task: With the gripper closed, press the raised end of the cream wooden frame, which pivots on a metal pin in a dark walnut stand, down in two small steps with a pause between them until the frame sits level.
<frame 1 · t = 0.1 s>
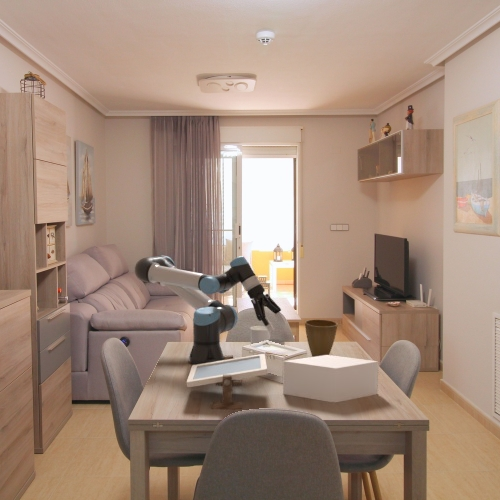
hand: (278, 328, 231), 15 cm above the table, tool tilted 35°, fingers open, 13 cm apart
tilted frame: (228, 369, 190), point 9 cm above the table, hinge at -10.0°
candle holder: (259, 353, 248), on the table
plant pot: (320, 357, 243), on the table
block: (330, 394, 193), on the table
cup: (275, 363, 232), on the table
walnut stand: (228, 394, 191), on the table
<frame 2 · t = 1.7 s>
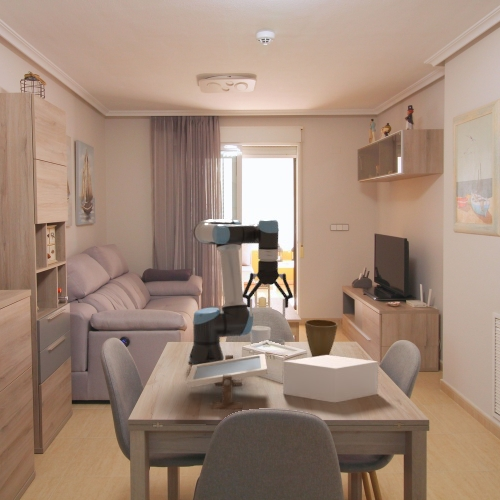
hand: (267, 316, 202), 26 cm above the table, tool pointing down, fingers open, 12 cm apart
nothing on the table moved.
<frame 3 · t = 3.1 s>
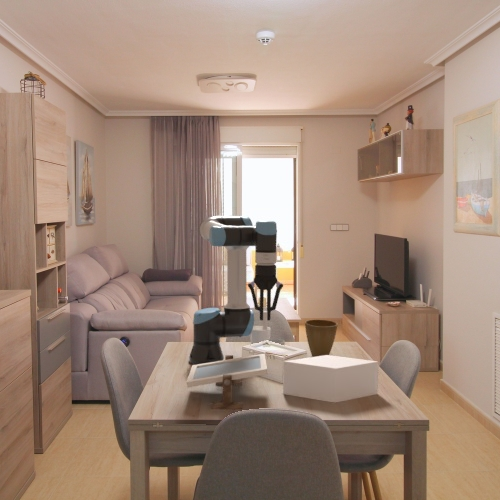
hand: (264, 329, 189), 24 cm above the table, tool pointing down, fingers closed
nothing on the table moved.
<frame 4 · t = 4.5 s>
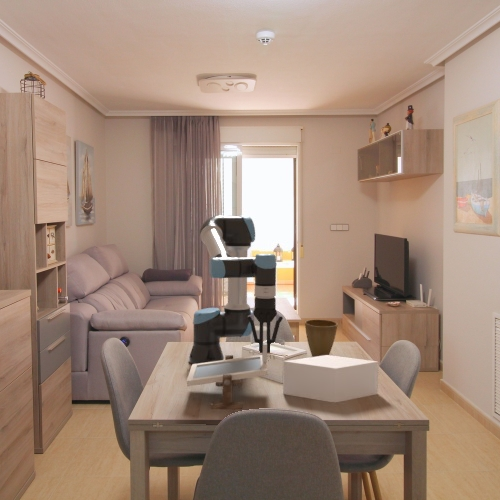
hand: (264, 361, 190), 13 cm above the table, tool pointing down, fingers closed
tilted frame: (228, 369, 190), point 9 cm above the table, hinge at -8.3°, touching gripper
everything else where it was.
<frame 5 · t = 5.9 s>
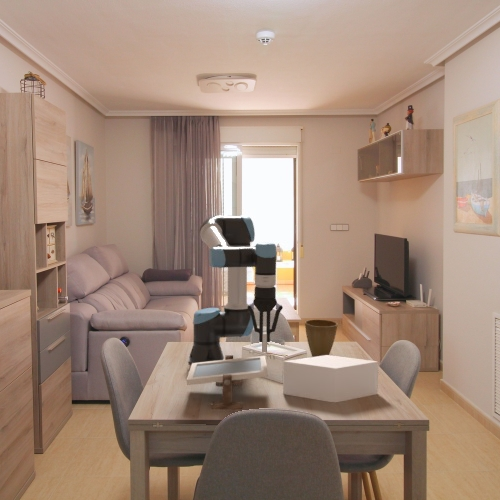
hand: (264, 350, 190), 16 cm above the table, tool pointing down, fingers closed
tilted frame: (228, 369, 190), point 9 cm above the table, hinge at -6.5°
everything else where it was.
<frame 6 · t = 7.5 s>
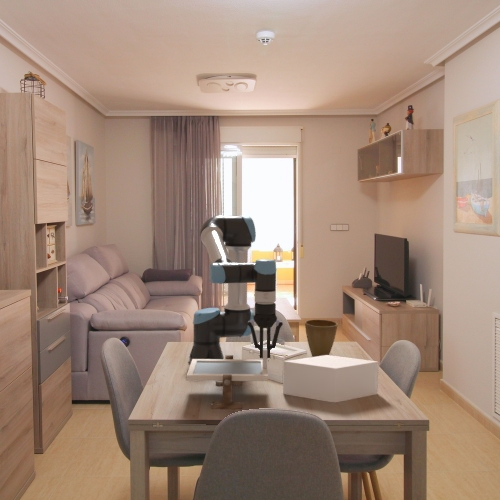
hand: (264, 366, 190), 11 cm above the table, tool pointing down, fingers closed
tilted frame: (228, 369, 190), point 9 cm above the table, hinge at 0.1°, touching gripper
everything else where it was.
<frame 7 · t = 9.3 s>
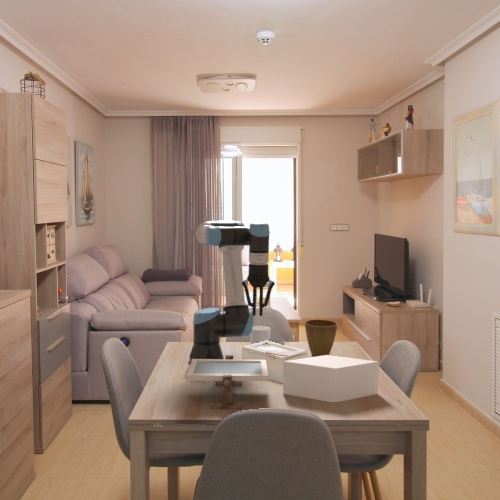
hand: (257, 323, 203), 23 cm above the table, tool pointing down, fingers closed
tilted frame: (228, 369, 190), point 9 cm above the table, hinge at 0.1°
everything else where it was.
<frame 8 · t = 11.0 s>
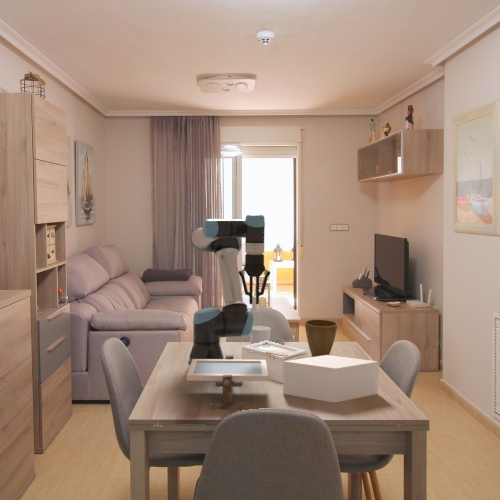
hand: (254, 312, 210), 26 cm above the table, tool pointing down, fingers closed
nothing on the table moved.
at the end: tilted frame at +0° (first picture: -10°); block moved 0.4 cm from its start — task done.
